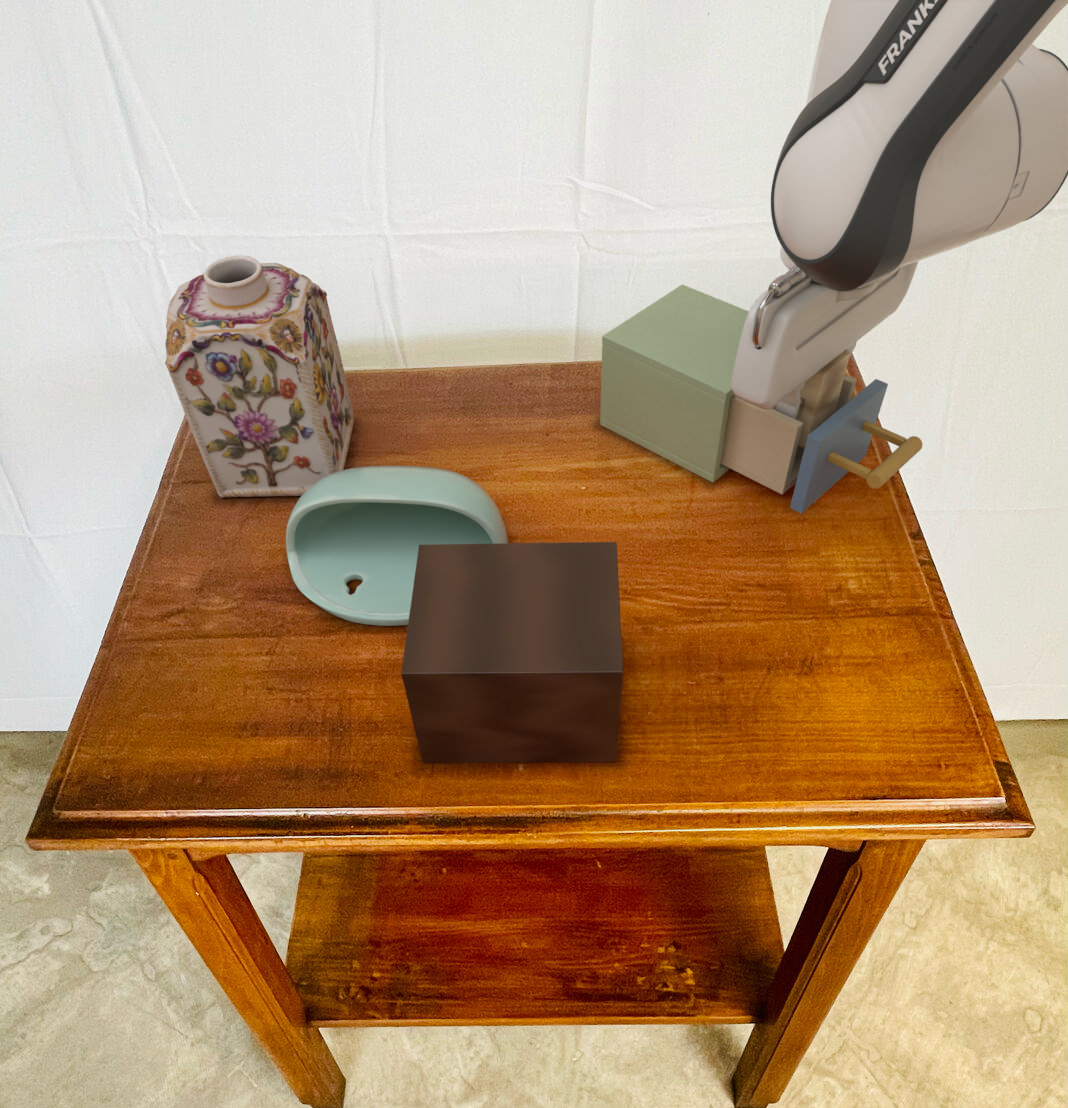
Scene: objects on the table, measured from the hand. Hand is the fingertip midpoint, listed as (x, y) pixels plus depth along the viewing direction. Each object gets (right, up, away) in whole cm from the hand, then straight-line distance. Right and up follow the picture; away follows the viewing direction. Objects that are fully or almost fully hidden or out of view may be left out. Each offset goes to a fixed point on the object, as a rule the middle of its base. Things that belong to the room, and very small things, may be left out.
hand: (806, 403), depth 77 cm
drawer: (+1, -4, +5) cm, 6 cm away
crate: (-24, -26, -9) cm, 36 cm away
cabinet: (-8, +2, +10) cm, 13 cm away
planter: (-35, -13, +1) cm, 37 cm away
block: (0, -1, +2) cm, 3 cm away
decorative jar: (-47, -2, +9) cm, 48 cm away
